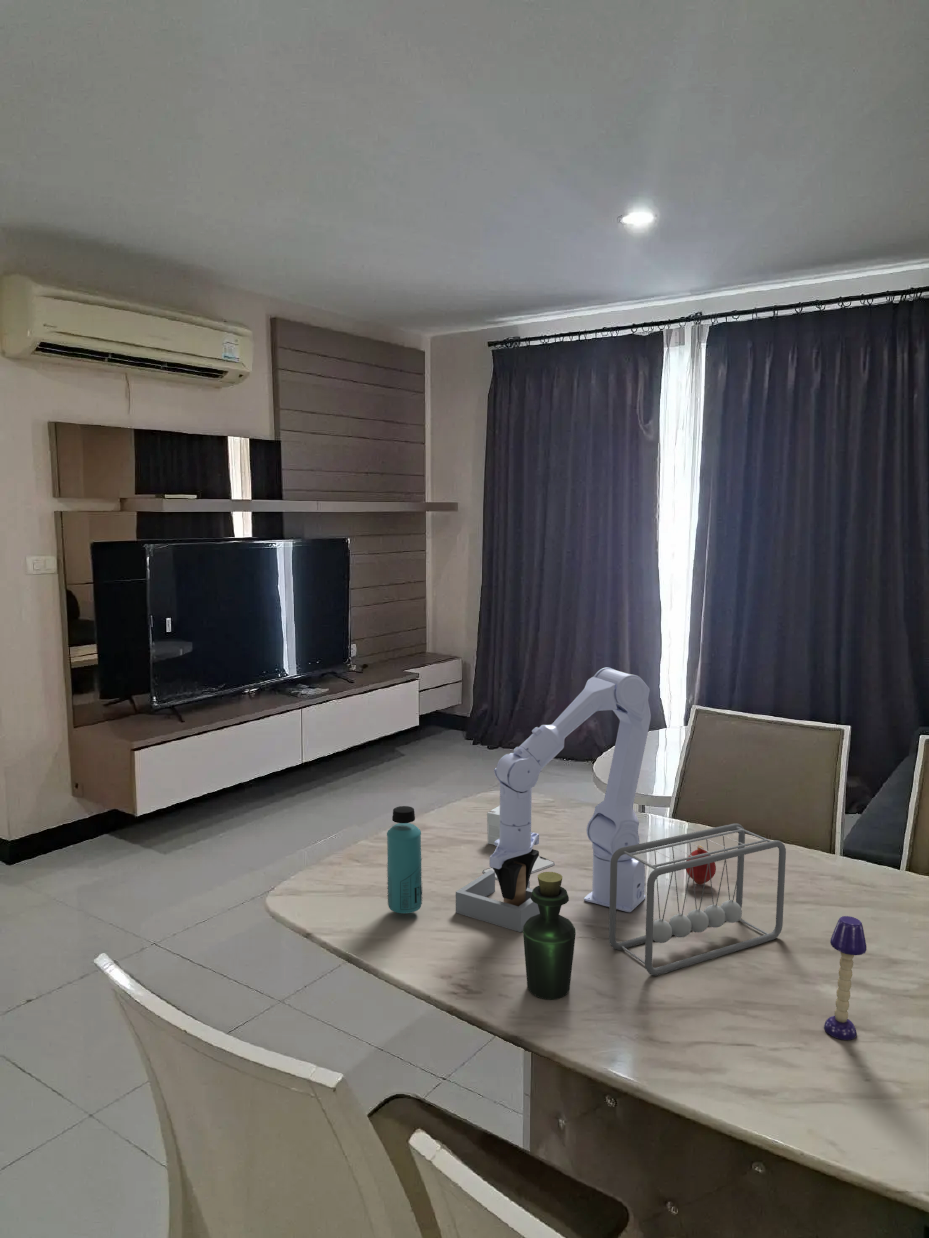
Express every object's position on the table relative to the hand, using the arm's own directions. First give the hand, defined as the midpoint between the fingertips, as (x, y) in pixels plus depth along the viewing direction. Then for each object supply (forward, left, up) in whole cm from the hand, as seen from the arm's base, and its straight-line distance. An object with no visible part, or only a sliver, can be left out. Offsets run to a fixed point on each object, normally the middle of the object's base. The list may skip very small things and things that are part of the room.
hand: (514, 893), depth 156 cm
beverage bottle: (+17, +10, -5) cm, 21 cm away
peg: (0, 0, -4) cm, 4 cm away
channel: (+3, -2, -4) cm, 6 cm away
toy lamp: (-57, +5, -5) cm, 57 cm away
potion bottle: (-17, +18, -5) cm, 25 cm away
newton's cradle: (-31, -9, -5) cm, 32 cm away
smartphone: (+10, -20, -5) cm, 23 cm away
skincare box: (+20, -31, -5) cm, 37 cm away
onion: (-24, -33, -5) cm, 41 cm away
